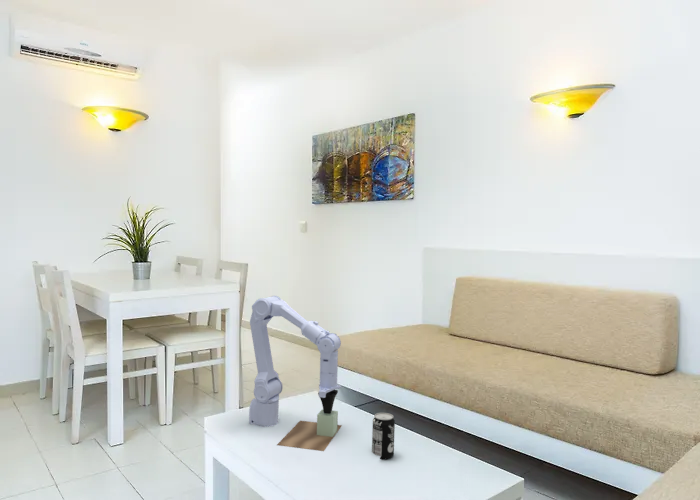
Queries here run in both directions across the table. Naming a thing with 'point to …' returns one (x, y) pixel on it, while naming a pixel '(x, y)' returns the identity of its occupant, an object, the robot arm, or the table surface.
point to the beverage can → (383, 435)
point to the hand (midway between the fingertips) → (327, 413)
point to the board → (306, 437)
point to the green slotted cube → (327, 423)
